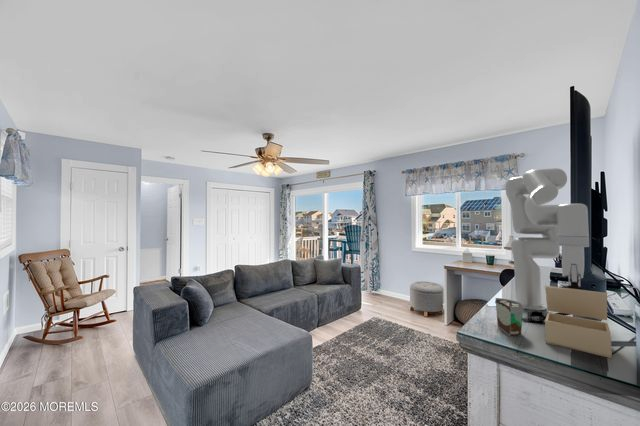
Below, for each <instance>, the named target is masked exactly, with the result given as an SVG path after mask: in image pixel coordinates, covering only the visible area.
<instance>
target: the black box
mask: <svg viewBox="0 0 640 426" xmlns="http://www.w3.org/2000/svg"><path fill="white" fill-rule="evenodd" d="M526 315H527V318H526V317H522V323H523V322H524V323H525V324H526V323H528V324H537V325H538V324H540V325H545V315H544V312H543V311H542V310H531V309H527V313H526Z"/></svg>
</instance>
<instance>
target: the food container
mask: <svg viewBox="0 0 640 426" xmlns="http://www.w3.org/2000/svg"><path fill="white" fill-rule="evenodd" d="M494 301H495V302H494V304H495V307H496V309H495V310H496V318H497V320H496V322H497V323H496V324H497V327H498V328H499V329H500V330H502V331H503V332H504V333H505V334H507V335H508V336H509V337H519V336H520V337H521V335H522V327H523V326H522V325H523V321H522V318H523V314H524V313H525V312H526V310H525V308H524V307H523V305H522V304H521V303H519V302H517V301H513V299H512V300H511V299H507V298H500V297H495V300H494Z"/></svg>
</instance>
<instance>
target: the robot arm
mask: <svg viewBox="0 0 640 426" xmlns="http://www.w3.org/2000/svg"><path fill="white" fill-rule="evenodd" d="M567 182H568V176H567V174H566V172H565V170H563V169H562V168H558V167H557V168H552V167H551V168H538V169H535V168H534V169H531V170H528V171H526V172H525V173H524V174H523V175H522V176H516V177H515V176H514V177H511V178H509V179H507V181H506V183H505V195H506V196H507V200H508V202H509V204H510V207H511V217H512V227H513V230H514V232H515V233H516V234H519V235H534V237H531V236H526V237H525V236H523V237H521V236H520V237H516V238H514V239H512V241H511V242H510V248H511V252H512V257H513V266H514V267H513V268H514V270H513V271H514V290H515V292H514V293H515V294H514V295H515V296H514V297H515V299H514V300H513V299H512V300H513V301H517V302H519V303H521V304H522V305H523V307H524V310H525V309H526V310H528V309H531V310H540V311H545V310H547V305H545V304H543V302H542V282H541V281H542V279H541V268H540V266H539V264H538V263H537V262H536V261H535V260H534V259H548V260H549V259H556V258H558V257H559V256H560V251H561V275H562V277H564V278H566V277H568V285H567V288H572V289H580V290H583V288H582V286H581V279H583V278H584V273H585V248H590V233H589V211H588V206H587V205H586V204H584V203H564V204H563V203H562V204H548V203H550V202H552V201H553V200H555V199H556V198H557V196H558V195H559V190H560V189H562V188H564V187H565V186H566V184H567ZM525 195H528V196H525ZM535 235H536V236H537V235H540V236H542V237H535Z"/></svg>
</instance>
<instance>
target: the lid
mask: <svg viewBox="0 0 640 426" xmlns="http://www.w3.org/2000/svg"><path fill="white" fill-rule="evenodd" d="M544 287H545V289H544V290H545V296H546V310H547V311H549V312H552V313H561V314H564V315H565V314H566V315H570V316H571V315H572V316H579V317H584V318H590V319H597V320H602V321H608V293H607V292H602V291H593V290H586V289H582V290H580V289H572V288H568V287H561V286H560V287H559V286H552V285H545V286H544Z"/></svg>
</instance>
